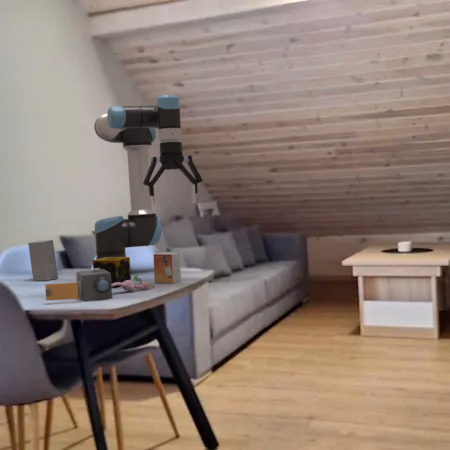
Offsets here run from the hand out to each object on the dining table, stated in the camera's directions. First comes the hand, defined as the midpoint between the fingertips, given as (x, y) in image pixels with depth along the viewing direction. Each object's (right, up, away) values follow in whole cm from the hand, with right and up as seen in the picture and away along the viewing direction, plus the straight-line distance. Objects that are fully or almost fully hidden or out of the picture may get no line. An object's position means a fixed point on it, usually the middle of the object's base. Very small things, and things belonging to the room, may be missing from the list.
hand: (174, 204), depth 224 cm
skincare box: (-55, -29, +40) cm, 74 cm away
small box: (-3, -28, +14) cm, 31 cm away
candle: (-23, -29, +13) cm, 39 cm away
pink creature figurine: (-14, -29, -3) cm, 33 cm away
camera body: (-25, -30, -11) cm, 41 cm away
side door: (-33, -30, -18) cm, 48 cm away
